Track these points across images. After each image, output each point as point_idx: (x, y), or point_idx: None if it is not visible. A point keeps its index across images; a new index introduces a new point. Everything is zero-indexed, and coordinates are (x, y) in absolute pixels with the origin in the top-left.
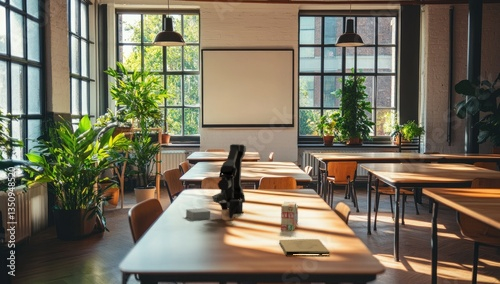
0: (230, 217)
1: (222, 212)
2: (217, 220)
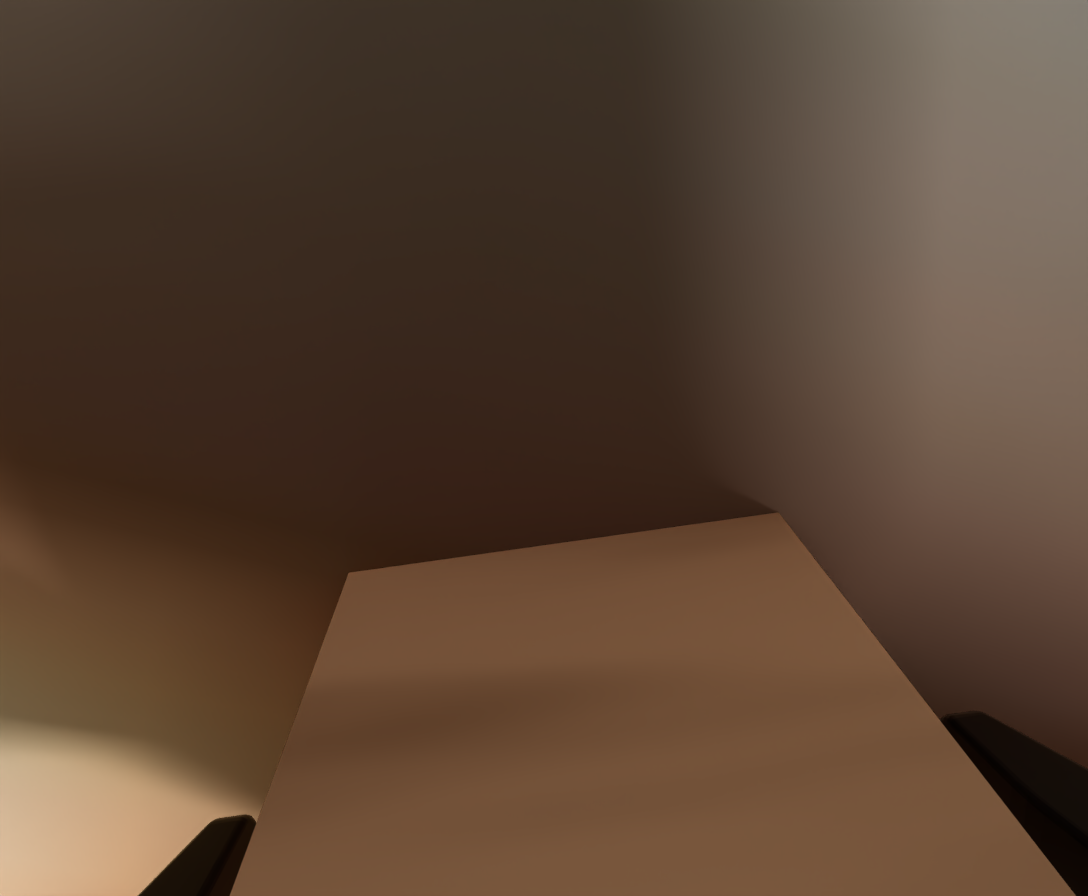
0: (190, 859)
1: (779, 755)
2: (417, 207)
